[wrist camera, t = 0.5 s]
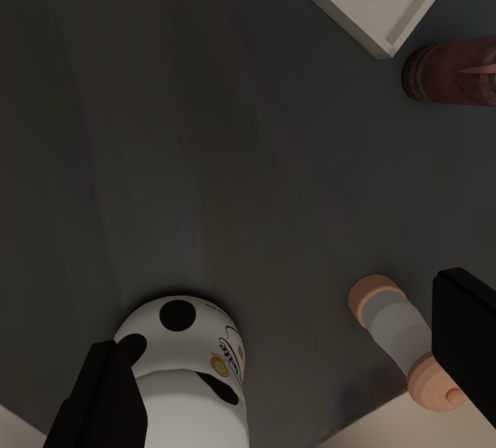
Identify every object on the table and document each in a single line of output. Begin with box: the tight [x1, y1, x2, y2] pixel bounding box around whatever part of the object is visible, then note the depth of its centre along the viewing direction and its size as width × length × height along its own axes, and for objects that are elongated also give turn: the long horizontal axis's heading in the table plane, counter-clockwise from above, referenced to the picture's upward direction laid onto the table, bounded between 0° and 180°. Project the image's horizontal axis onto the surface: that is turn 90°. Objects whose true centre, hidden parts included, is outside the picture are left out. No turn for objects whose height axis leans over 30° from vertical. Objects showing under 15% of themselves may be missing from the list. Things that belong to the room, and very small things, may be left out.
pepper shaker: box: [348, 274, 469, 412], centre depth 45 cm, size 7×7×19 cm
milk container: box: [113, 295, 249, 448], centre depth 44 cm, size 17×17×18 cm
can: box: [403, 34, 496, 107], centre depth 37 cm, size 6×6×14 cm
